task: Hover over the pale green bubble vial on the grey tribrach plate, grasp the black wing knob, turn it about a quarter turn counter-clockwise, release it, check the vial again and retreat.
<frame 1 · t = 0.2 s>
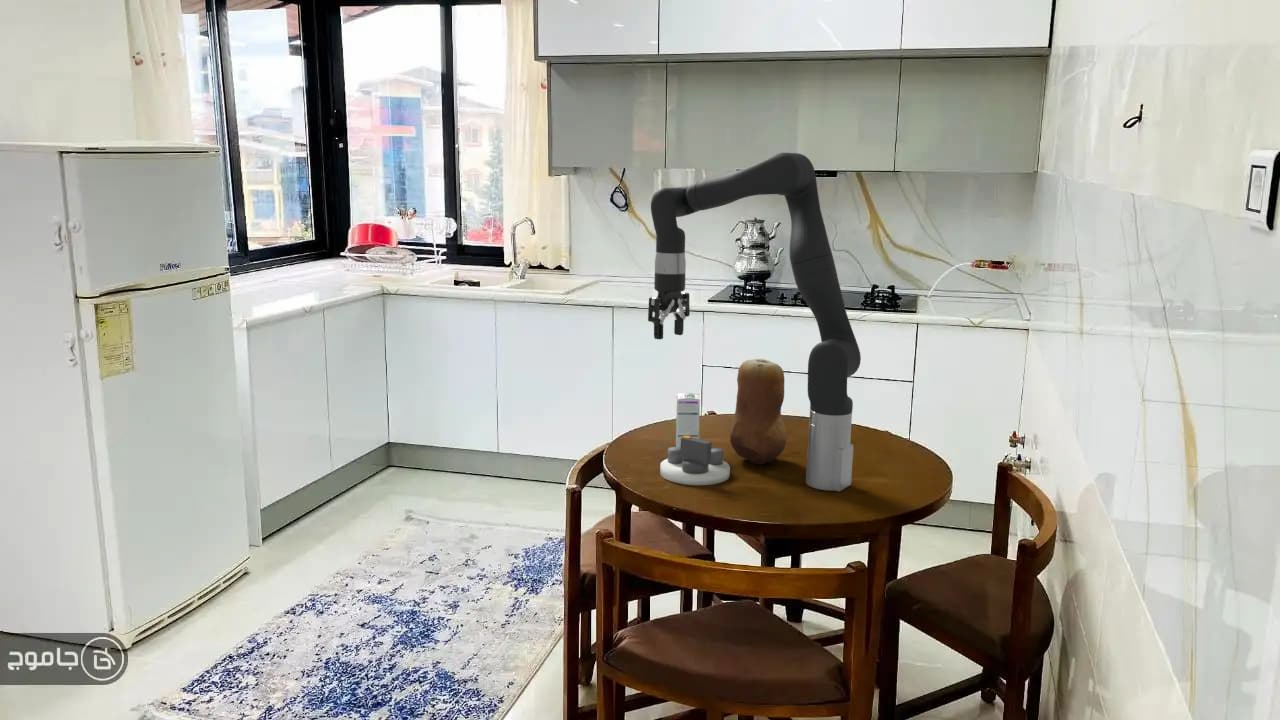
hand: (668, 336, 233), 29 cm above the table, fingers open, 8 cm apart
wing knob: (695, 454, 214), point 6 cm above the table, hinge at 0.0°
syrup box: (686, 453, 236), on the table
butternut squash: (756, 461, 230), on the table
tribrach plate: (694, 473, 219), on the table
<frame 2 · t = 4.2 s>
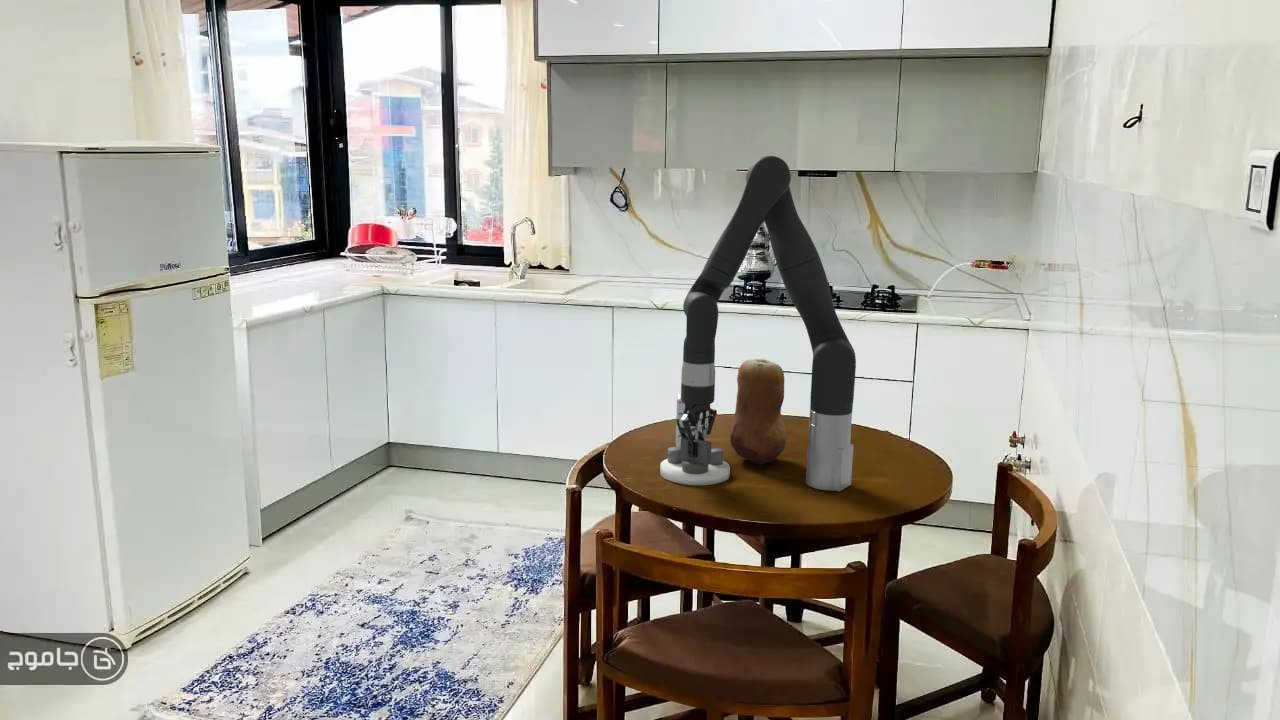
hand: (695, 455, 214), 6 cm above the table, fingers closed on wing knob, 2 cm apart
wing knob: (695, 454, 214), point 6 cm above the table, hinge at 0.0°, touching gripper
everything else where it was.
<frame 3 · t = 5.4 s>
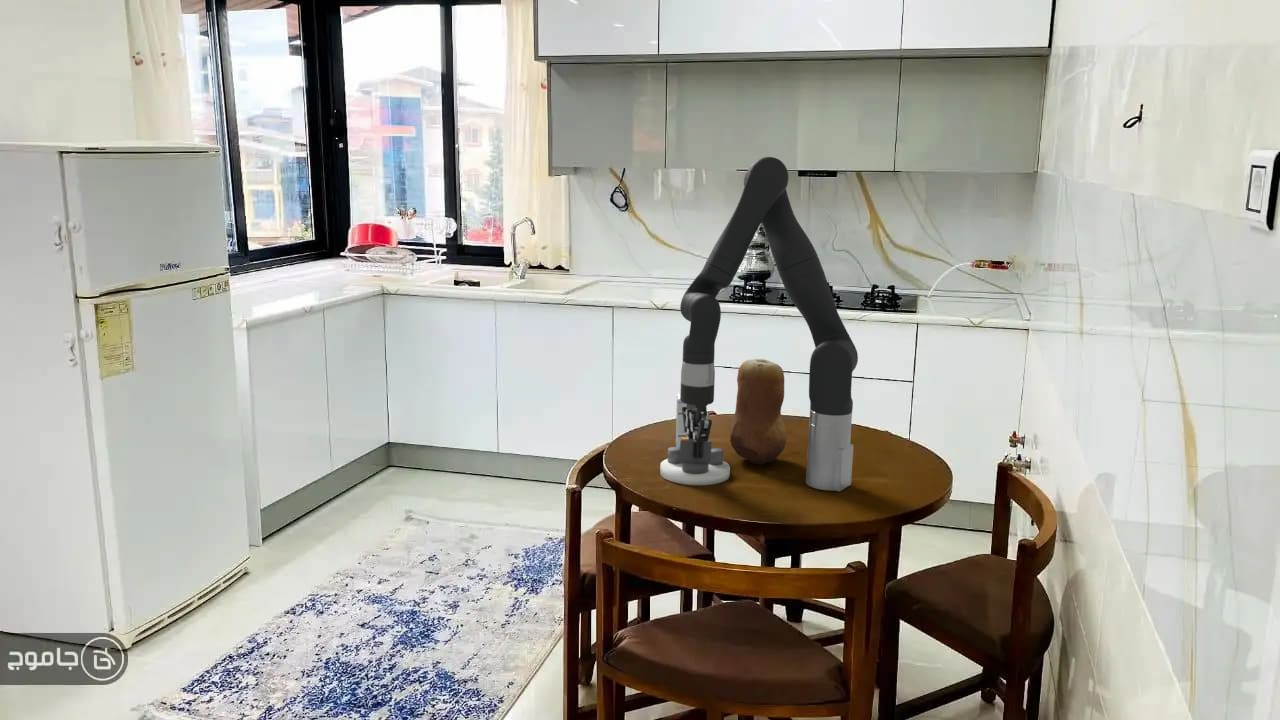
hand: (695, 455, 214), 6 cm above the table, fingers closed on wing knob, 3 cm apart
wing knob: (695, 454, 214), point 6 cm above the table, hinge at 31.3°, touching gripper
everything else where it was.
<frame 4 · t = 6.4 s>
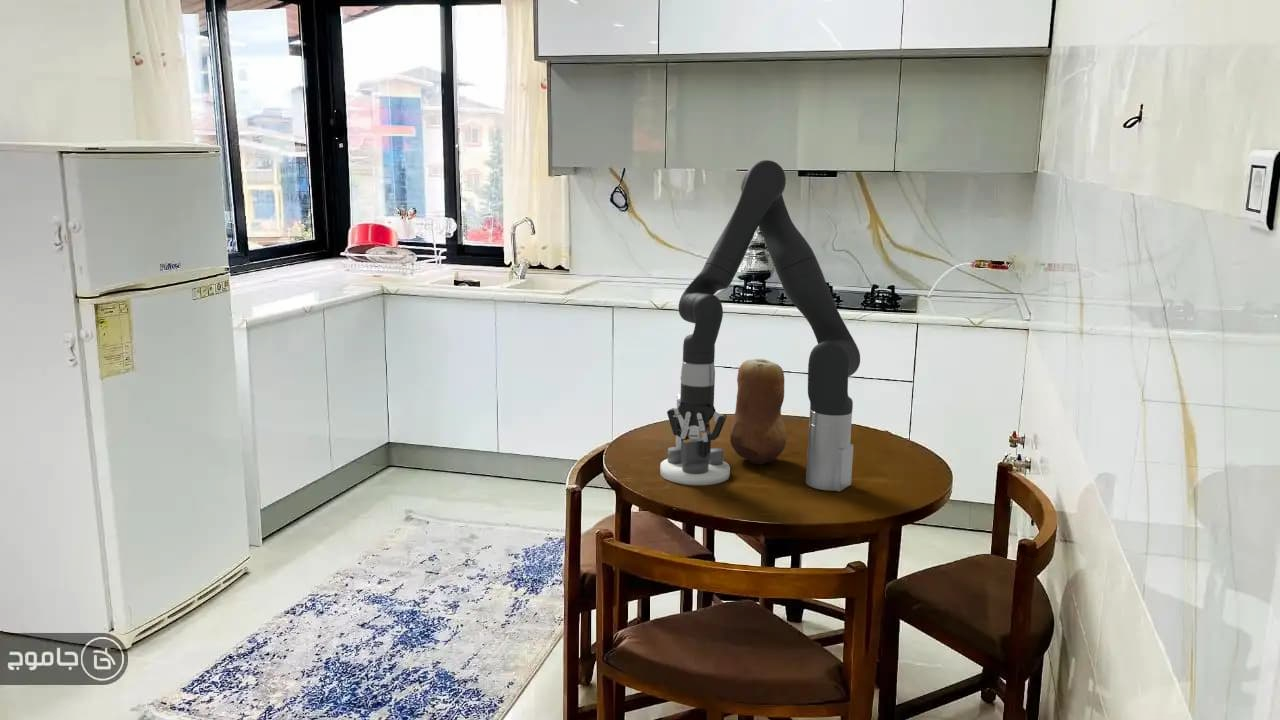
hand: (695, 455, 214), 6 cm above the table, fingers closed on wing knob, 3 cm apart
wing knob: (695, 454, 214), point 6 cm above the table, hinge at 72.3°, touching gripper
everything else where it was.
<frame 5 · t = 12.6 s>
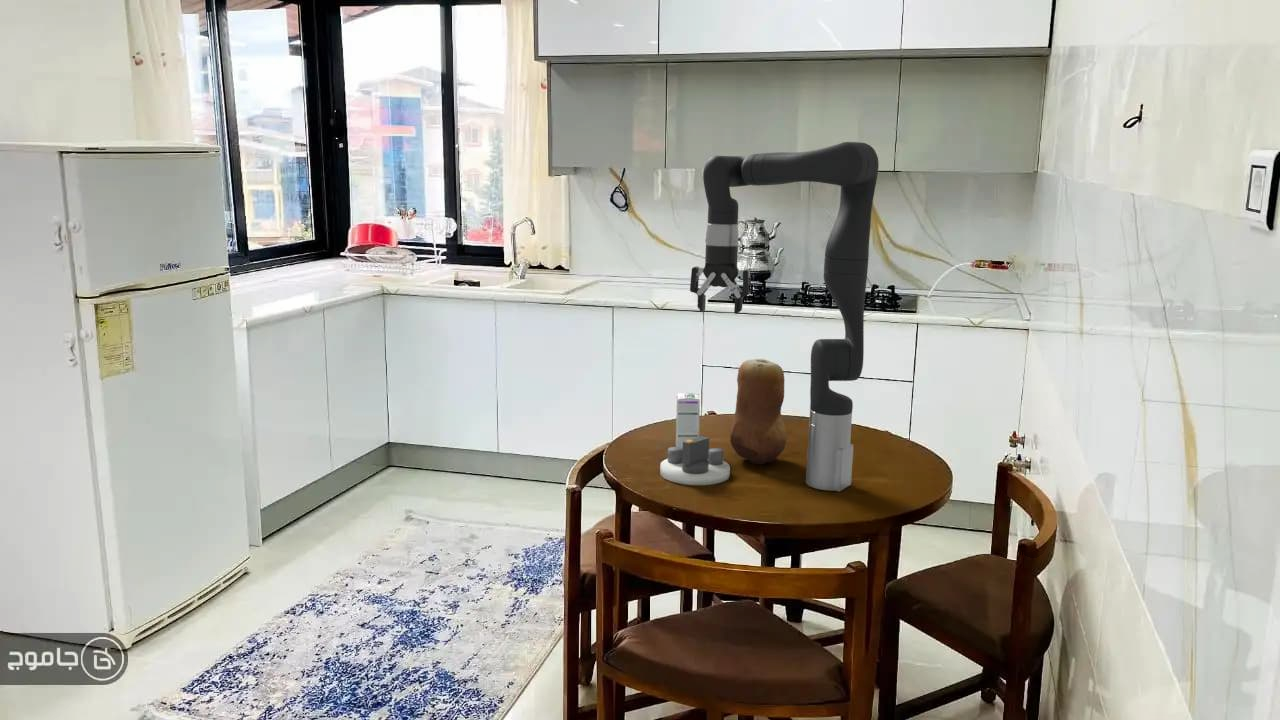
hand: (719, 312, 224), 36 cm above the table, fingers open, 8 cm apart
wing knob: (695, 454, 214), point 6 cm above the table, hinge at 85.1°
everything else where it was.
at the end: wing knob at +85° (first picture: +0°); the gripper is holding nothing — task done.
